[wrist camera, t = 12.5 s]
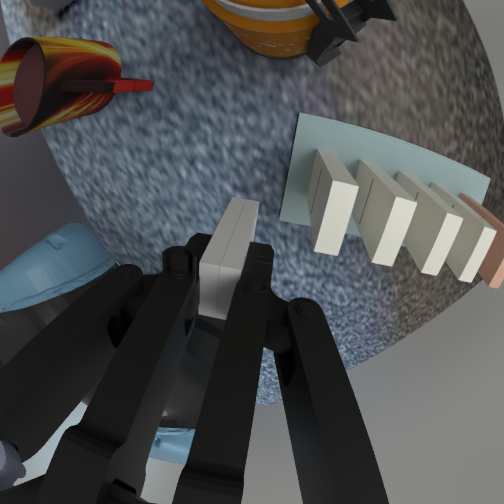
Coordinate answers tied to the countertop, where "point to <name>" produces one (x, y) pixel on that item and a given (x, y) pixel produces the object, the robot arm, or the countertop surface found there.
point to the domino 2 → (381, 212)
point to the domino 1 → (330, 201)
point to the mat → (370, 149)
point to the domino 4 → (466, 237)
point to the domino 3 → (429, 225)
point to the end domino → (500, 251)
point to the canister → (298, 24)
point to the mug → (58, 82)
